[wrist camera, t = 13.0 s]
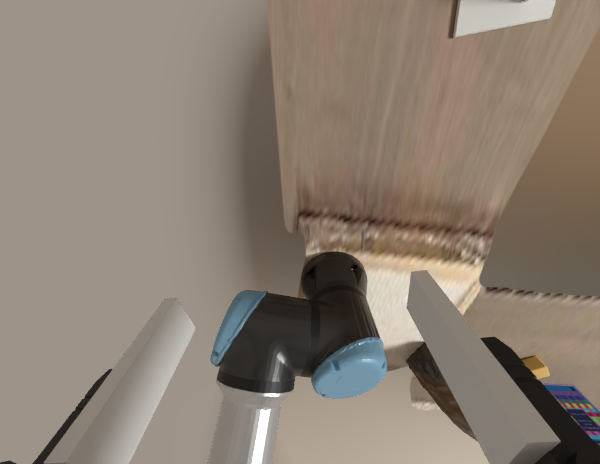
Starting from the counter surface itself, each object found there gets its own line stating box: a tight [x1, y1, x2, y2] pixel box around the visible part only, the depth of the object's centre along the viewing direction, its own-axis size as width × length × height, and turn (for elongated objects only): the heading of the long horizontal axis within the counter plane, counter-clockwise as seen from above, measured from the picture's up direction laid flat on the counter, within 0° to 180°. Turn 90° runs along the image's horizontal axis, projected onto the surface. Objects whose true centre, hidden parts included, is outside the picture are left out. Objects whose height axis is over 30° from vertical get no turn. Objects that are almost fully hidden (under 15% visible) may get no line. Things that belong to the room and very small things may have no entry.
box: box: [542, 383, 600, 446], centre depth 67 cm, size 17×9×20 cm, turn 86°
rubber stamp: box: [522, 355, 561, 404], centre depth 63 cm, size 10×6×12 cm, turn 128°
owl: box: [406, 343, 477, 441], centre depth 57 cm, size 13×13×20 cm
